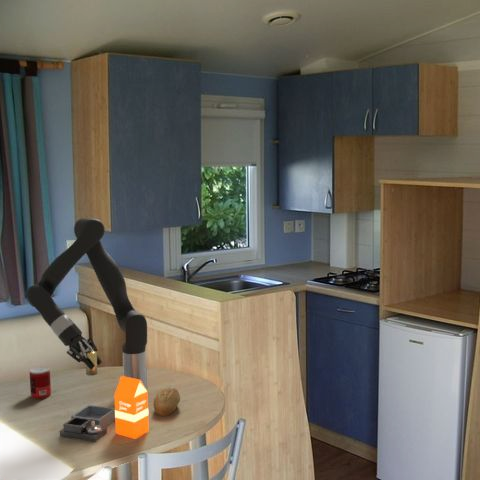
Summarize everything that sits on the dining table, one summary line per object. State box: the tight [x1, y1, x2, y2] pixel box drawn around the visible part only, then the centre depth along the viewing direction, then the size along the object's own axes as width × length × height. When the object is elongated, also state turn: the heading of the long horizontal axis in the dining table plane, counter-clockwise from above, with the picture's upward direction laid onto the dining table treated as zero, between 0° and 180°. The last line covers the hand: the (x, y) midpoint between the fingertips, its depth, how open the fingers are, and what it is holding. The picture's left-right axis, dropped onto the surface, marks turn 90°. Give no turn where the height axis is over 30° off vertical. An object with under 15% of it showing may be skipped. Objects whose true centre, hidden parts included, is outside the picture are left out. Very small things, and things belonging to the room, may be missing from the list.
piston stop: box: [85, 351, 99, 377], centre depth 259 cm, size 4×4×8 cm
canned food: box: [29, 365, 52, 400], centre depth 289 cm, size 8×8×11 cm
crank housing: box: [58, 417, 108, 443], centre depth 251 cm, size 8×14×6 cm, turn 69°
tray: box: [70, 404, 115, 427], centre depth 262 cm, size 12×12×4 cm
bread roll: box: [153, 387, 181, 417], centre depth 273 cm, size 10×15×8 cm, turn 174°
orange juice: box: [113, 375, 150, 440], centre depth 252 cm, size 8×9×20 cm
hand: (96, 365), depth 258 cm, fingers closed on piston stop, 4 cm apart
